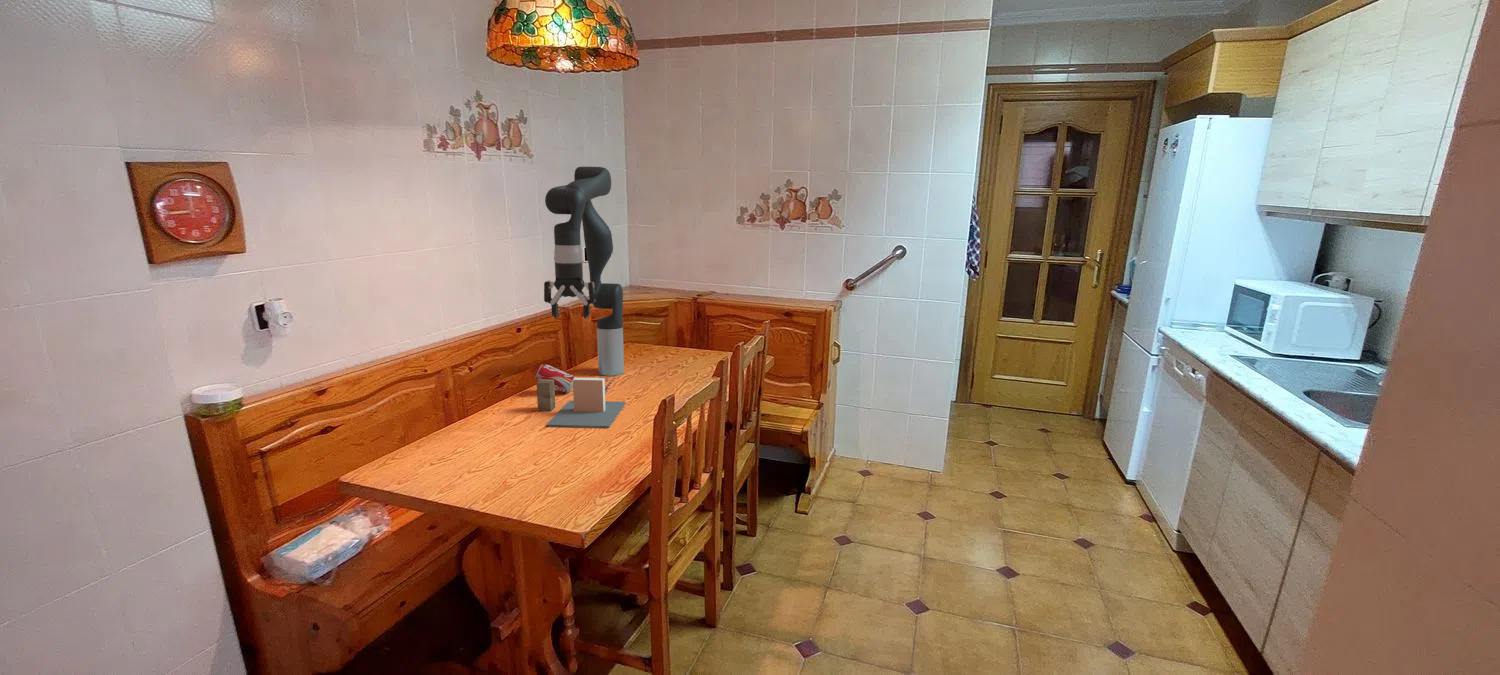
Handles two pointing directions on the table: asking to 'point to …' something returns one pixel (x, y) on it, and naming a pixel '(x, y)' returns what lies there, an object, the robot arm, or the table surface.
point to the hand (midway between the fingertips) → (571, 317)
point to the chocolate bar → (608, 384)
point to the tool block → (545, 395)
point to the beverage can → (556, 377)
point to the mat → (586, 416)
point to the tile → (589, 394)
